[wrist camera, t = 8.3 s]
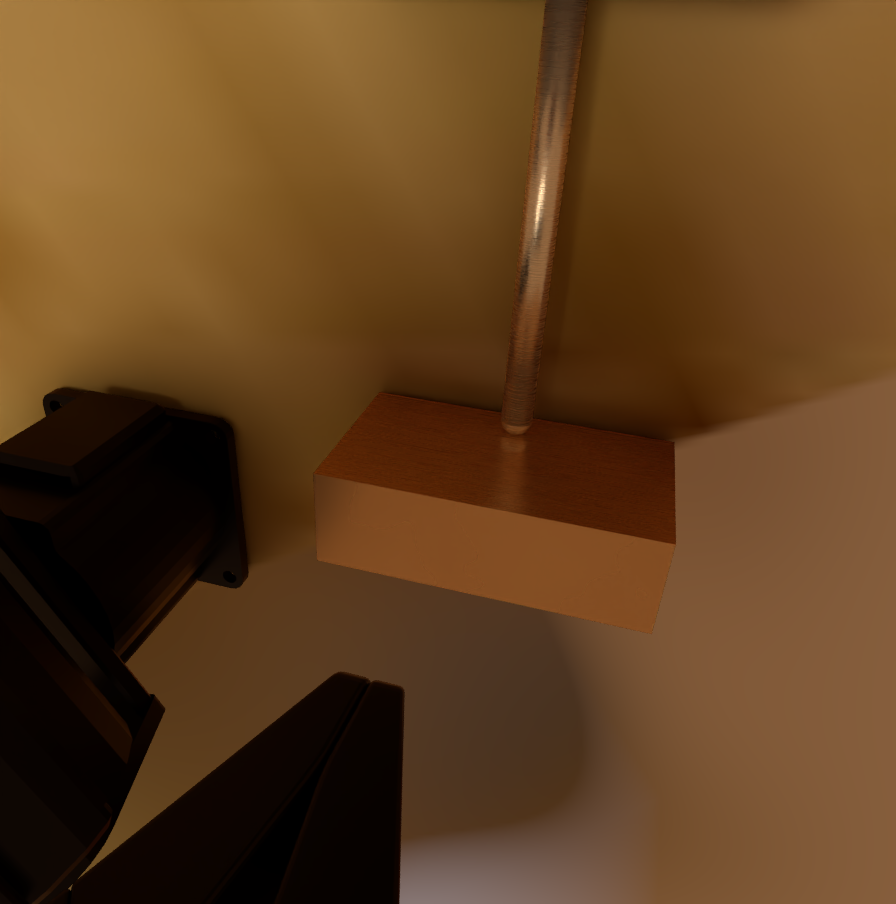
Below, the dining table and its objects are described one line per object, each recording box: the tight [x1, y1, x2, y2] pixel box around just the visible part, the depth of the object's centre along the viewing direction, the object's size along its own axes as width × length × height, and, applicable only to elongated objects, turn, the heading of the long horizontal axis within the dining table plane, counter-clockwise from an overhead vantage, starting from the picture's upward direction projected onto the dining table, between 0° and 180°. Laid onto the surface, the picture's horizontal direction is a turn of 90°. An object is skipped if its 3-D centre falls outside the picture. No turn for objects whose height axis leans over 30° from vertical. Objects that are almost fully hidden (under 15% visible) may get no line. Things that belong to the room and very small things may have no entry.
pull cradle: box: [313, 0, 676, 634], centre depth 14 cm, size 21×9×4 cm, turn 177°
